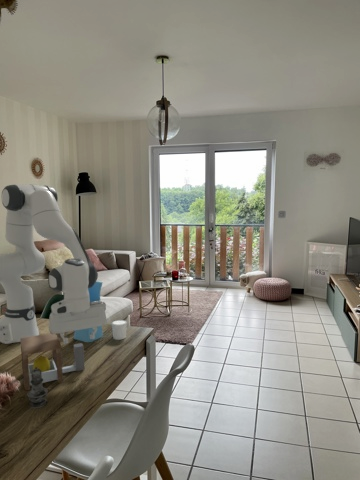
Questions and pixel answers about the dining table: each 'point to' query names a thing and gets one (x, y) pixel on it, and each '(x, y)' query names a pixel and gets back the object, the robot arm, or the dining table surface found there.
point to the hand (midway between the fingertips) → (79, 341)
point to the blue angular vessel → (85, 333)
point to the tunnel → (36, 346)
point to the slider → (52, 374)
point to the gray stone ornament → (37, 390)
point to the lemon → (42, 364)
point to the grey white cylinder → (119, 329)
